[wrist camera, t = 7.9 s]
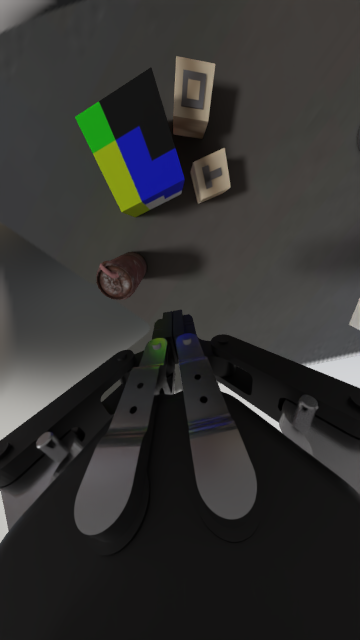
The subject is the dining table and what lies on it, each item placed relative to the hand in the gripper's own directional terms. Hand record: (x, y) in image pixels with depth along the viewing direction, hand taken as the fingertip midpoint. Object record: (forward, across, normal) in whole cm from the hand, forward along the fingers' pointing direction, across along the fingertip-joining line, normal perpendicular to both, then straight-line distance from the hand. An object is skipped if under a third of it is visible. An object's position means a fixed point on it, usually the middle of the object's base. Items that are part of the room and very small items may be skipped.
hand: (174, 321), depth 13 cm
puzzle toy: (+27, +2, -16) cm, 32 cm away
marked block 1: (+27, -7, -22) cm, 36 cm away
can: (+27, +9, -1) cm, 29 cm away
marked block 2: (+27, -9, -13) cm, 31 cm away
